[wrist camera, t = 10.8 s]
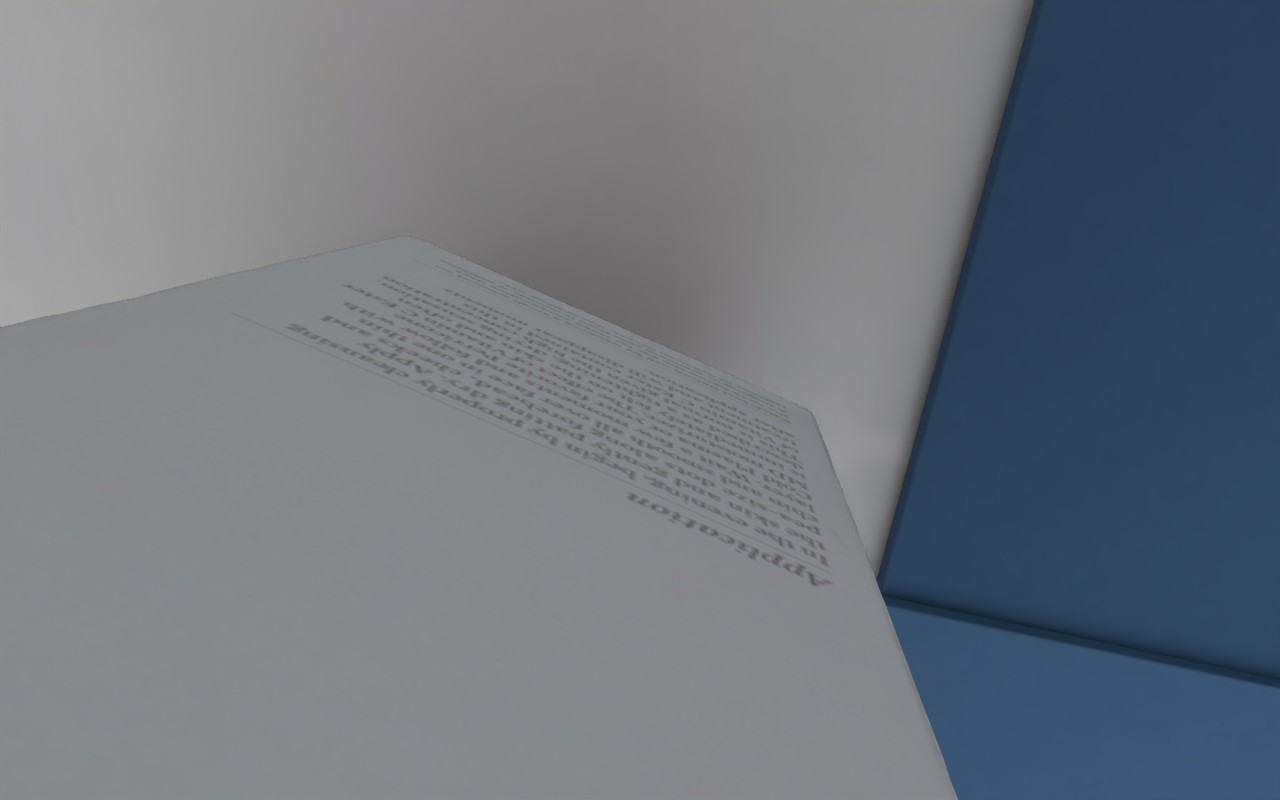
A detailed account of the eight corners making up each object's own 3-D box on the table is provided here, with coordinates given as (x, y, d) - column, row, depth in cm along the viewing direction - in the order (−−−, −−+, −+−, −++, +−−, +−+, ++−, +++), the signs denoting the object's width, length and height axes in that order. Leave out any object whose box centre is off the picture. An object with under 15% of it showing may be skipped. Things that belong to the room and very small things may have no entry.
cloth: (1881, 69, 14) (1959, 63, 13) (1364, 1119, 19) (1395, 1164, 18) (1056, -80, 14) (1077, -96, 14) (766, 982, 20) (768, 1021, 19)
